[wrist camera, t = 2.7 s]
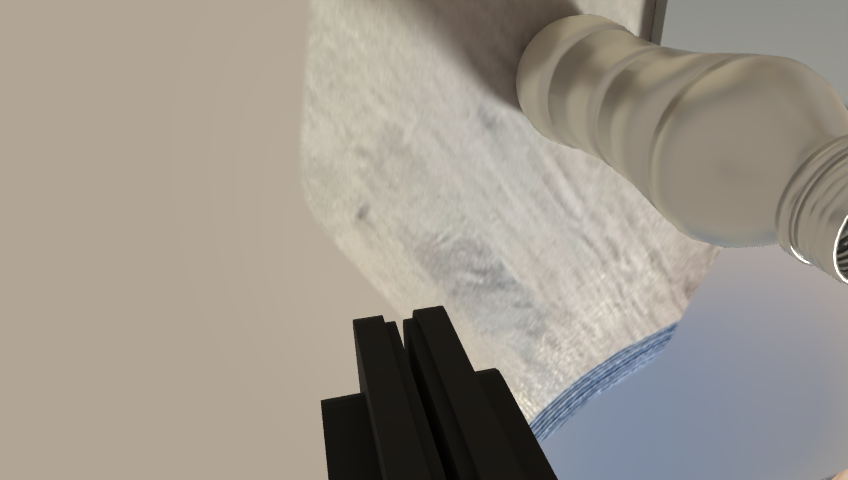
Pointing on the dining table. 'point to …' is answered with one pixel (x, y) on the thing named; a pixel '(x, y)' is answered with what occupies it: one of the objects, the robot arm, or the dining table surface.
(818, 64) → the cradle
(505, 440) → the robot arm
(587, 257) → the dining table surface
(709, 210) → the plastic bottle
